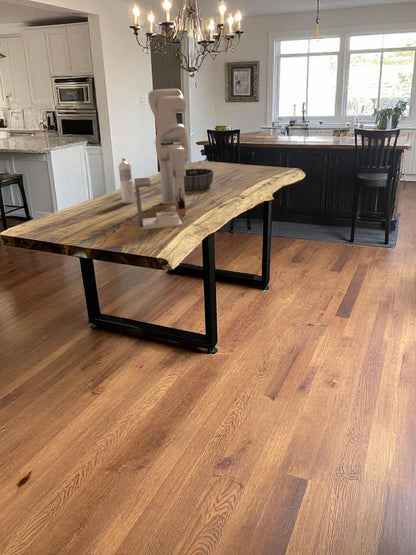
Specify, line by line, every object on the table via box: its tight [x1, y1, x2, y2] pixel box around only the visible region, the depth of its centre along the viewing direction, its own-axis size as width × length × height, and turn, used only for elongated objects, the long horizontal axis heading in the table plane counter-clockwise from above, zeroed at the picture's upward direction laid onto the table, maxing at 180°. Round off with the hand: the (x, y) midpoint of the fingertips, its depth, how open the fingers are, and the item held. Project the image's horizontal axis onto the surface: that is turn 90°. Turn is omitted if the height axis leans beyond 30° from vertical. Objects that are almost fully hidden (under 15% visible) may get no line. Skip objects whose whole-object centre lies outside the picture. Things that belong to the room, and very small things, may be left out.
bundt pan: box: [184, 168, 215, 191], centre depth 295 cm, size 26×26×10 cm
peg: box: [174, 196, 187, 216], centre depth 238 cm, size 4×4×9 cm
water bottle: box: [118, 158, 135, 205], centre depth 263 cm, size 7×7×25 cm
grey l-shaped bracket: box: [133, 177, 152, 229], centre depth 221 cm, size 15×7×20 cm, turn 10°
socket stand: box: [138, 210, 183, 231], centre depth 226 cm, size 15×20×4 cm
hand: (180, 206), depth 238 cm, fingers open, 9 cm apart
